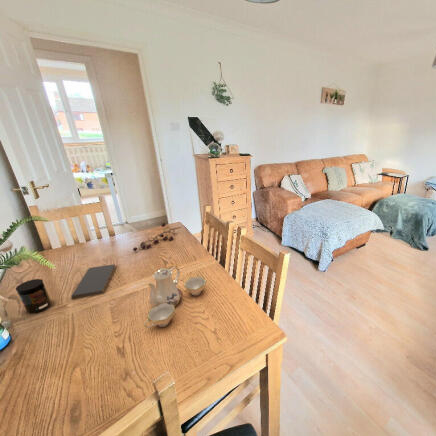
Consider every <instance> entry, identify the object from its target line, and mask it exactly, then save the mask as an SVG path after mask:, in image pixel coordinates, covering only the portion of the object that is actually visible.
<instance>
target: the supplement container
mask: <svg viewBox="0 0 436 436" xmlns="http://www.w3.org/2000/svg"><path fill="white" fill-rule="evenodd" d="M15 291H16V293H17V295H18V297H19V298H20V301H21V303H22V305H23V307H24V309H25V311H26V313H28V314H38V313H41V312H43V311H45V310H47V309H49V308H50V307H51V306H52V300H51V297H50V295H49V293H48V290H47V288H46V285H45V283H44V280H43V279H41V278H35V279H34V278H33V279H30V280H27V281H24V282H22V283H20V284H18V285H17V286H16V287H15Z"/></svg>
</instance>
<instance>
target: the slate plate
mask: <svg viewBox="0 0 436 436" xmlns="http://www.w3.org/2000/svg"><path fill="white" fill-rule="evenodd" d="M115 269H116V264H115V263H114V264H107V265H101V266H94V267H88V269H87V270H86V272H85V274H84V275H83V277H82V278H81V280H80V281H79V283H78V284H77V286H76V288H75V289H74V291H73V293H71V299H72V300H73V299H78V298H79V299H80V298H83V297H89V296H94V295H95V296H96V295H101V294H104V293H105V290H106V288H107V286H108V285H109V282H110V279H111V278H112V275H113V273H114V272H115Z"/></svg>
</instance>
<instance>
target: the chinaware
mask: <svg viewBox="0 0 436 436" xmlns="http://www.w3.org/2000/svg"><path fill="white" fill-rule="evenodd" d="M173 270H176V277H175V279H174V280H173V274H174V273H173ZM180 272H181V271H180V268H179V267H178V266H173V267H171V268H164V267H161V268H160V269H159V270H157V271H155V272H154V273H153V274H152V278H153V279H154V280H155V284H154V283H152V282H151V283H148V284H147V286H149V287H150V292H149V300H148V301H149V305H150V307H152V308H150V309H149V310H148V315H147V317H146V319H147V320H146V321H145V322H144V327H145V328H146V329H149V328H151V327H152V326H154V327H157V326H158V327H160V328H163V327H166V326H167V325H168V324H169V323H170V322H171V320H172V318H173V316H174V313H175V310H176V306H177V305H178V304H179V303H180V300H181V298H182V295H183V291H182V289H180V288H179V287H178V286H177V285H178V284H179V280H178V279H179V278H180ZM206 283H207V279H206V278H205V277H203V276H202V275H200V276H196V277H189V278H188V279H187V280H186V281H185V282H184V283H183V287H184V288H185V289H186V290H187V292H188V293H190V294H192V296H199V295H201V294H202V291H203V290H204V288H205V285H206ZM150 321H151V323H152V324H151V325H149V326H146V324H147V323H148V322H150Z"/></svg>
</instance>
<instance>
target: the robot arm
mask: <svg viewBox="0 0 436 436" xmlns="http://www.w3.org/2000/svg"><path fill="white" fill-rule="evenodd" d="M2 235H3V234H1V233H0V238H2ZM13 246H14V243H13V242H12V241H11V240H10V239H9V238H7V240H6V241H5V243H3V245H1V246H0V255H5V256H6V253H7V252H10V251H12V249H13Z"/></svg>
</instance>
